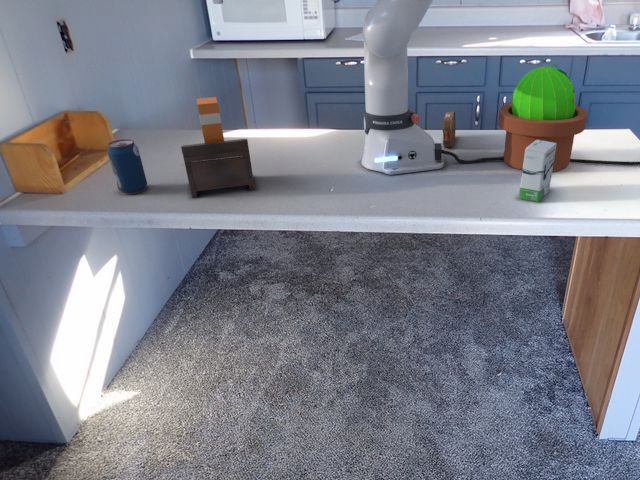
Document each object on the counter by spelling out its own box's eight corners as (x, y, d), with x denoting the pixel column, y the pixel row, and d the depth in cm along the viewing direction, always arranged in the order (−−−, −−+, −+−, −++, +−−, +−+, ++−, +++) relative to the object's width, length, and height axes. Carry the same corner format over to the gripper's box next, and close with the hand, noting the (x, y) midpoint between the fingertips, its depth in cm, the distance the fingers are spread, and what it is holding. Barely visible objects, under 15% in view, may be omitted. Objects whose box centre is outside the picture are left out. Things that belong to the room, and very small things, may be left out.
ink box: (538, 203, 124) (545, 152, 118) (517, 198, 127) (523, 148, 120) (550, 190, 131) (557, 141, 124) (530, 186, 133) (536, 138, 127)
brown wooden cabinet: (250, 176, 143) (243, 128, 136) (255, 189, 135) (247, 139, 128) (191, 183, 139) (181, 135, 133) (192, 198, 131) (181, 147, 125)
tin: (451, 151, 157) (452, 121, 152) (440, 150, 158) (441, 121, 153) (455, 135, 169) (457, 108, 165) (445, 135, 170) (446, 107, 166)
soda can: (153, 185, 139) (142, 139, 132) (138, 196, 133) (125, 147, 127) (129, 184, 140) (116, 137, 134) (113, 194, 134) (98, 146, 128)
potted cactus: (490, 172, 142) (499, 70, 129) (499, 146, 160) (508, 55, 146) (578, 179, 136) (598, 74, 123) (578, 151, 154) (594, 57, 141)
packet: (224, 142, 135) (216, 96, 130) (225, 149, 130) (217, 102, 125) (205, 144, 134) (196, 98, 128) (206, 151, 129) (197, 104, 124)
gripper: (206, -71, 110) (218, 6, 117) (252, -69, 126) (260, -2, 134) (179, -70, 111) (192, 6, 118) (228, -69, 128) (236, -2, 135)
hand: (228, 2), depth 126 cm, fingers open, 8 cm apart
